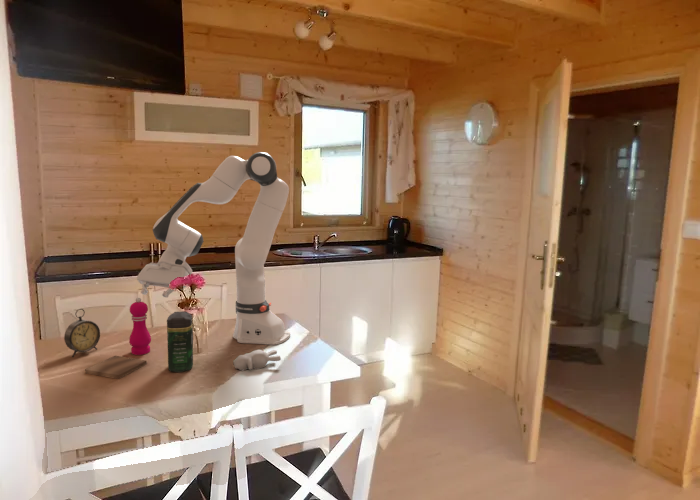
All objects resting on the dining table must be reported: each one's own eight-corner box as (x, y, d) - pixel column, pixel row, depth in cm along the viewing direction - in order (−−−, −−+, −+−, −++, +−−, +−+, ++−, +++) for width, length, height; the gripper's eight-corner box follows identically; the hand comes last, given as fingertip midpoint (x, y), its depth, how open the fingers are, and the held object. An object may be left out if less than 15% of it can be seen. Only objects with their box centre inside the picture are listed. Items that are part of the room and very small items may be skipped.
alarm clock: (71, 359, 174) (68, 313, 171) (63, 356, 176) (59, 310, 174) (102, 350, 183) (99, 306, 180) (93, 347, 186) (90, 304, 183)
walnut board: (146, 363, 171) (146, 360, 171) (118, 378, 159) (118, 375, 159) (115, 358, 175) (115, 355, 175) (85, 373, 163) (85, 369, 162)
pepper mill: (146, 355, 178) (144, 300, 175) (126, 355, 178) (123, 300, 175) (154, 348, 185) (152, 295, 182) (135, 348, 185) (132, 294, 182)
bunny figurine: (231, 352, 172) (274, 343, 177) (233, 366, 173) (276, 357, 178) (235, 363, 163) (280, 352, 168) (237, 377, 164) (282, 366, 169)
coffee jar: (192, 372, 165) (190, 317, 162) (166, 374, 163) (164, 318, 160) (194, 361, 174) (193, 308, 171) (170, 362, 172) (168, 310, 169)
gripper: (143, 257, 195) (126, 287, 188) (189, 262, 189) (173, 293, 182) (151, 266, 200) (135, 296, 193) (196, 271, 194) (181, 302, 186)
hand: (153, 295), depth 187 cm, fingers open, 8 cm apart
